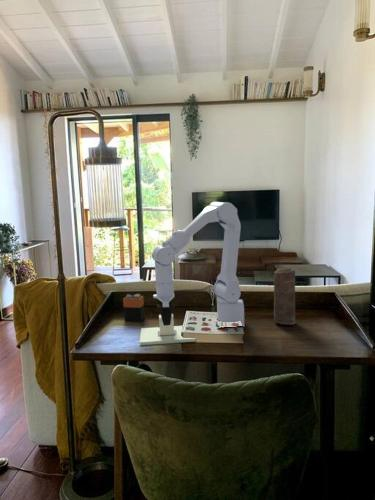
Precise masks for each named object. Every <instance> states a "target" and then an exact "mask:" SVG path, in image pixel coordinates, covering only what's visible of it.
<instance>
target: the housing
mask: <svg viewBox="0 0 375 500" xmlns="http://www.w3.org/2000/svg"><path fill="white" fill-rule="evenodd" d="M174 320H175V318H174V313H172V316H171V323H170V325H166V326H164V325H163V321H162V317H161V314H159V315H158V324H159V327H160V335H173V334H174V326H175V322H174Z"/></svg>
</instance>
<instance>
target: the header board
mask: <svg viewBox="0 0 375 500" xmlns="http://www.w3.org/2000/svg"><path fill="white" fill-rule="evenodd" d="M182 326H183V325H174V334H173V335H160V327H158V326H156V327H141V328H140V336H139V337H140V338H139V346H147V345H162V344H163V345H164V344H178V343H191V342H196V337H195V338H183V337H182V336H181V330H182Z"/></svg>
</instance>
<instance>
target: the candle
mask: <svg viewBox="0 0 375 500" xmlns="http://www.w3.org/2000/svg"><path fill="white" fill-rule="evenodd" d="M273 321H274V322H275V323H277V324H280V325H291V326H292V325H296V270H295V269H294V268H282V267H281V268H278V269H277V270H274V272H273Z"/></svg>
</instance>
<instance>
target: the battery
mask: <svg viewBox="0 0 375 500" xmlns="http://www.w3.org/2000/svg"><path fill="white" fill-rule="evenodd" d="M144 302H145V300H144V295H141V294H140V293H136V294H134V295H133V294H132V295H131V294H129V293H128V294H126V296H125V297H123V299H122V303H123V315H124V316H123V317H124V321H125V322H138V323H139V322H142V321H143V320H144V319H145V317H146V315H145V303H144Z"/></svg>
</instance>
